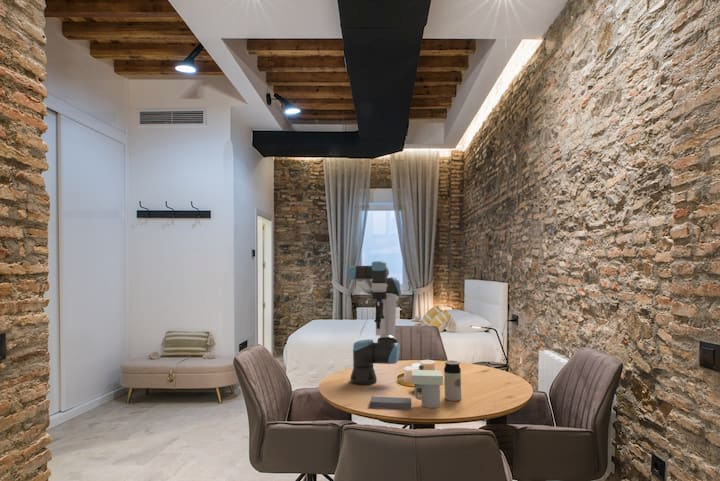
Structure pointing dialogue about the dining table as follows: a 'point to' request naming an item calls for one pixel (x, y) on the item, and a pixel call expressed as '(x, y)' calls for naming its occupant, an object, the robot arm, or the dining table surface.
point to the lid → (427, 377)
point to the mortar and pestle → (420, 384)
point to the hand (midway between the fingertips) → (379, 333)
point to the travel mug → (452, 380)
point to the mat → (390, 402)
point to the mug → (429, 395)
